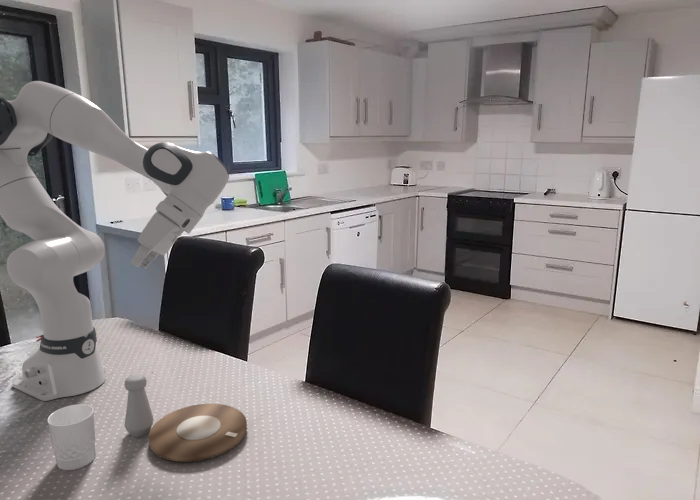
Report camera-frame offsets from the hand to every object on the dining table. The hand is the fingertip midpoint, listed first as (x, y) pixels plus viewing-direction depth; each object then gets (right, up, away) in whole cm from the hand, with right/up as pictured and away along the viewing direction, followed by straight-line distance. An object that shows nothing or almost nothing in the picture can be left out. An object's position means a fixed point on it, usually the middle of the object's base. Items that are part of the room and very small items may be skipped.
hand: (137, 266), depth 111 cm
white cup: (-7, -38, -11) cm, 41 cm away
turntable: (+15, -36, -3) cm, 39 cm away
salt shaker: (+1, -36, -2) cm, 36 cm away
